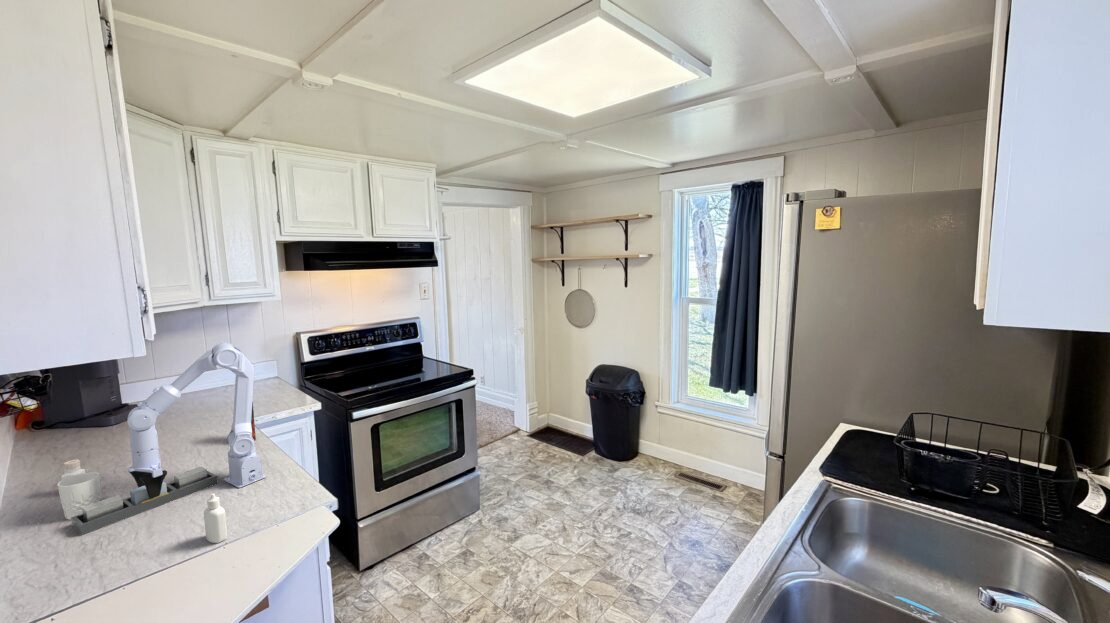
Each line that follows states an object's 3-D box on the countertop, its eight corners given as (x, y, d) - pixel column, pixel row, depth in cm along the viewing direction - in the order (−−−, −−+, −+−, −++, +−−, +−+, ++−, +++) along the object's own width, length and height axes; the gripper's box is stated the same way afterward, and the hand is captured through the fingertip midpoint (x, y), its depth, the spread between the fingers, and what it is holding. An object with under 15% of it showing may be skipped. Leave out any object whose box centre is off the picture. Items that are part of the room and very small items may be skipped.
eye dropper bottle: (227, 529, 117) (223, 486, 115) (227, 540, 112) (223, 496, 111) (206, 535, 114) (201, 492, 113) (205, 547, 110) (201, 502, 108)
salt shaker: (71, 489, 135) (67, 459, 134) (88, 487, 137) (84, 457, 136) (62, 496, 132) (58, 465, 130) (80, 493, 133) (76, 463, 132)
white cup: (101, 501, 129) (97, 469, 128) (105, 511, 124) (100, 478, 123) (61, 513, 123) (56, 479, 122) (63, 524, 118) (58, 489, 117)
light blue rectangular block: (167, 497, 130) (166, 483, 130) (136, 509, 124) (134, 494, 124) (162, 494, 132) (161, 479, 132) (131, 505, 126) (129, 490, 125)
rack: (217, 483, 140) (216, 468, 139) (81, 535, 114) (78, 516, 113) (206, 477, 143) (205, 462, 143) (72, 526, 117) (69, 508, 117)
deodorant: (246, 445, 167) (243, 406, 165) (233, 443, 169) (229, 405, 167) (259, 439, 173) (256, 401, 171) (246, 437, 174) (243, 400, 172)
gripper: (116, 447, 127) (121, 492, 128) (136, 460, 119) (142, 507, 121) (148, 439, 133) (153, 482, 134) (169, 450, 125) (174, 495, 127)
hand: (150, 493), depth 128 cm, fingers open, 6 cm apart
